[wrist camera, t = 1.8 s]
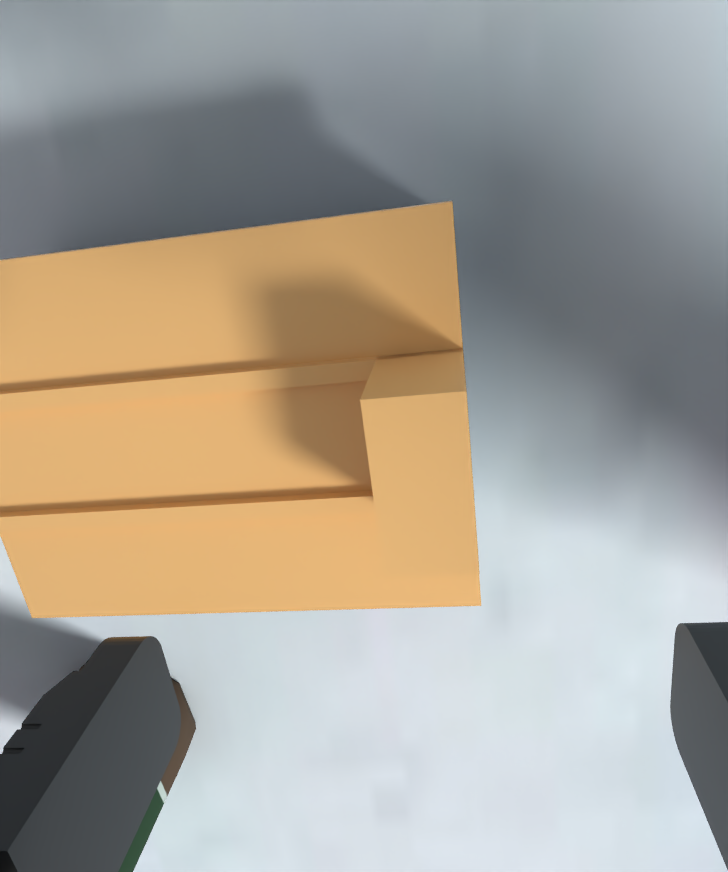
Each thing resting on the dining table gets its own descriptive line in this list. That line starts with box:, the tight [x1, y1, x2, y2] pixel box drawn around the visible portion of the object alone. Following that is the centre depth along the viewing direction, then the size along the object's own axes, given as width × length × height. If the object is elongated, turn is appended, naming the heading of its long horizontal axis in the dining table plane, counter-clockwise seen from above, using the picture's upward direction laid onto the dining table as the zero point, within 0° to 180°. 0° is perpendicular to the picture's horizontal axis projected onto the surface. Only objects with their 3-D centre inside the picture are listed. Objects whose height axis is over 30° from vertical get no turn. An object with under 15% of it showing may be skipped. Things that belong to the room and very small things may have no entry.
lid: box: [0, 201, 481, 618], centre depth 20 cm, size 17×13×6 cm
